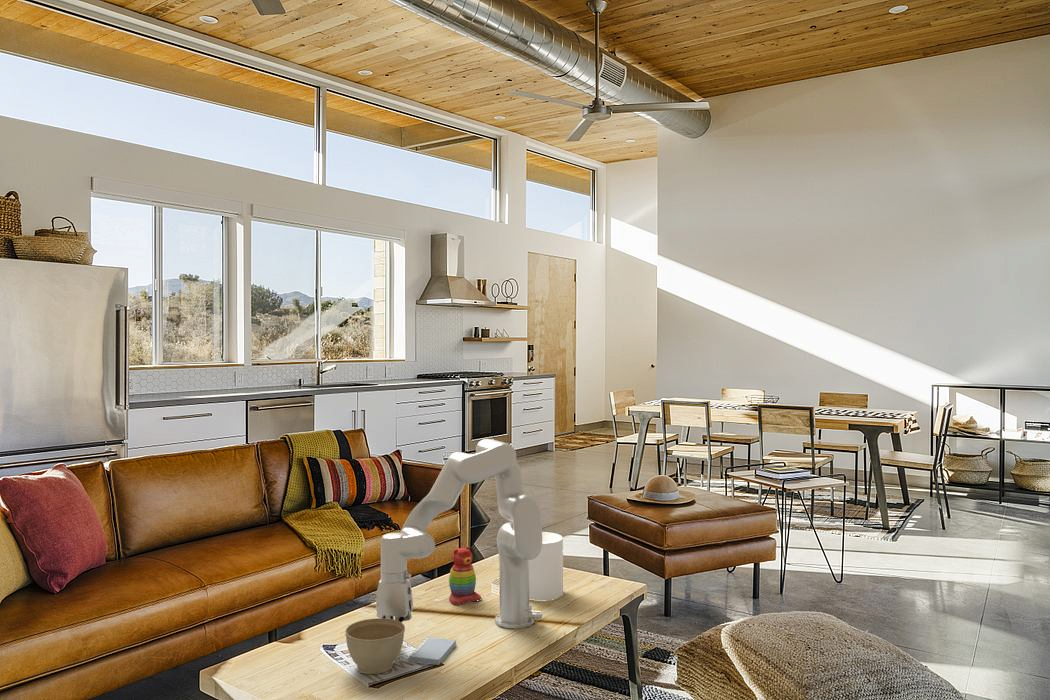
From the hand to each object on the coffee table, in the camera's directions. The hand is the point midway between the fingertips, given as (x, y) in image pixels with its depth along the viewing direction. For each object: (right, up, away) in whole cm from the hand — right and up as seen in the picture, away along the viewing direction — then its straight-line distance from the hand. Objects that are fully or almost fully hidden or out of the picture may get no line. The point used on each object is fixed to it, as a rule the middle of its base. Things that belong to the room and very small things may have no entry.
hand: (394, 638), depth 222 cm
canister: (+44, -2, +47) cm, 64 cm away
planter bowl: (-3, -3, -13) cm, 14 cm away
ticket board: (+12, -3, -4) cm, 13 cm away
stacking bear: (+17, -2, +41) cm, 45 cm away
